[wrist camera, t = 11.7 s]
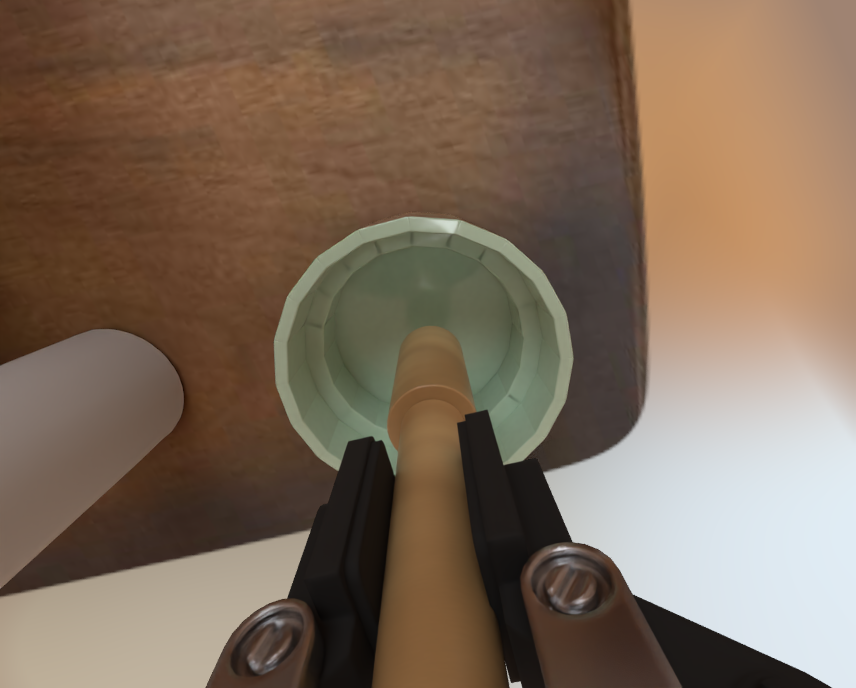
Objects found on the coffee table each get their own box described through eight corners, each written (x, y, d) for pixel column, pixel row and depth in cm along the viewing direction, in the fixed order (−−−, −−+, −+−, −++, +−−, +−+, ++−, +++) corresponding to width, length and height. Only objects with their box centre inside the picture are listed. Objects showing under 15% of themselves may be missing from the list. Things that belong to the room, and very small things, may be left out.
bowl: (350, 445, 24) (328, 521, 19) (280, 245, 21) (227, 264, 15) (549, 398, 24) (591, 463, 18) (510, 184, 20) (545, 179, 14)
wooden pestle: (408, 391, 19) (364, 862, 5) (391, 334, 18) (292, 721, 5) (468, 377, 19) (575, 829, 5) (454, 318, 18) (537, 676, 4)
